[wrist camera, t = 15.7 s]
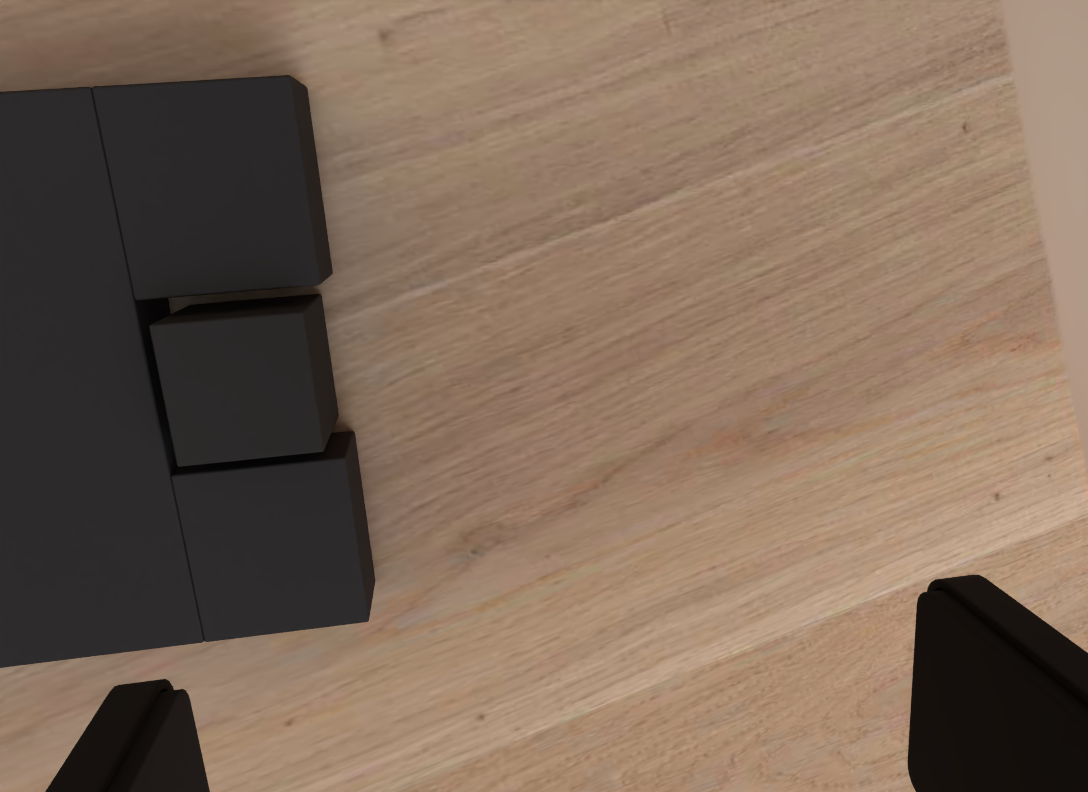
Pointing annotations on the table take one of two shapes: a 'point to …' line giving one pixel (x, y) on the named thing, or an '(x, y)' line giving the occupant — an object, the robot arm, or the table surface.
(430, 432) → the table surface
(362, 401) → the table surface
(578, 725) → the table surface
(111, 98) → the base pad
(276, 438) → the pad block
